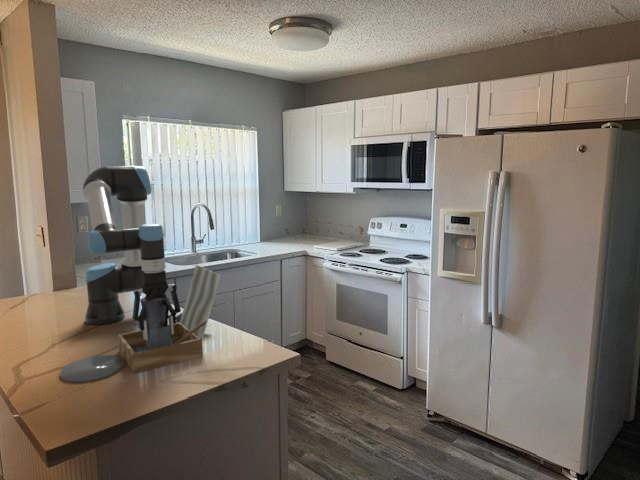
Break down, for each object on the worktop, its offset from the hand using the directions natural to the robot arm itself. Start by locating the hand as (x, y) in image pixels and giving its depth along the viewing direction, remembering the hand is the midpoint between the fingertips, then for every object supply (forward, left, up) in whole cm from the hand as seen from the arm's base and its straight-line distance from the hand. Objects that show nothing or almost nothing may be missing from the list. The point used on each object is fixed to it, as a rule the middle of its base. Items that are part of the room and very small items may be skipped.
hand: (158, 335), depth 158 cm
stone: (-15, +16, -6) cm, 23 cm away
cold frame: (0, +4, -6) cm, 7 cm away
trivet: (0, -21, -6) cm, 22 cm away
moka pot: (0, 0, -5) cm, 5 cm away
